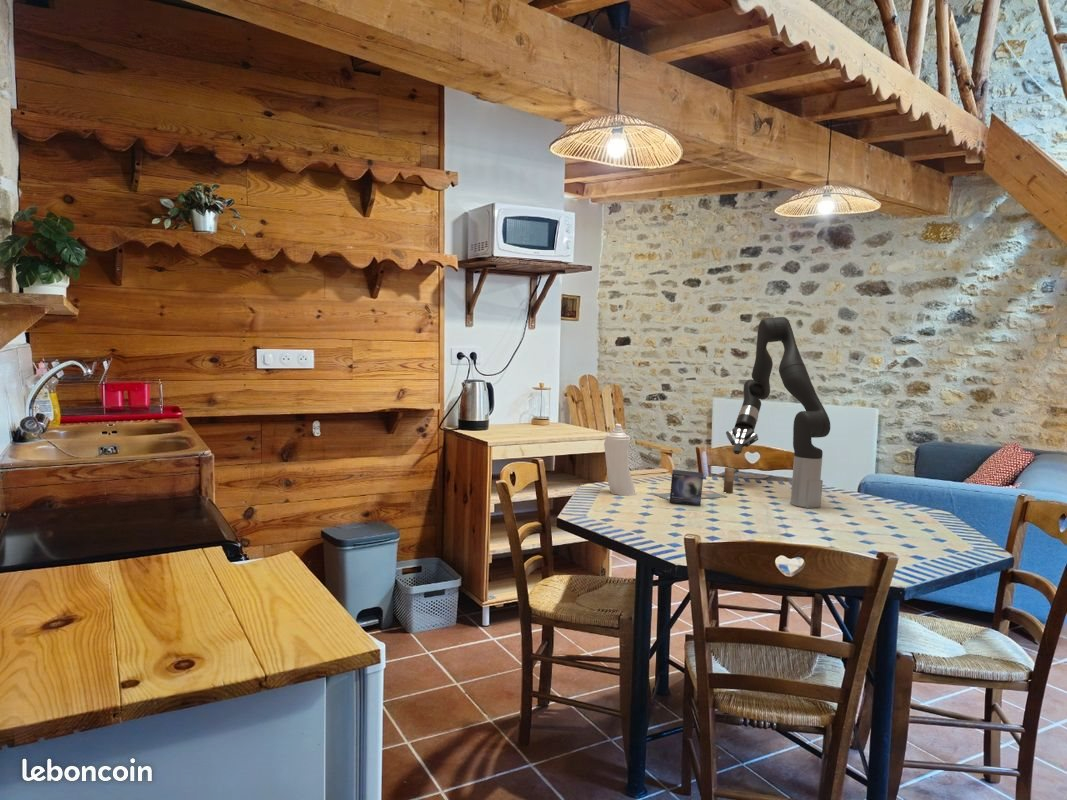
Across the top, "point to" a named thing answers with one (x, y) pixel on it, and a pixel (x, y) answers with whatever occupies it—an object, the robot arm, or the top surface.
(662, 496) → the board
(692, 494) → the small box
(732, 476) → the peg
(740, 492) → the top surface
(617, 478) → the spray can
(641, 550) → the top surface
